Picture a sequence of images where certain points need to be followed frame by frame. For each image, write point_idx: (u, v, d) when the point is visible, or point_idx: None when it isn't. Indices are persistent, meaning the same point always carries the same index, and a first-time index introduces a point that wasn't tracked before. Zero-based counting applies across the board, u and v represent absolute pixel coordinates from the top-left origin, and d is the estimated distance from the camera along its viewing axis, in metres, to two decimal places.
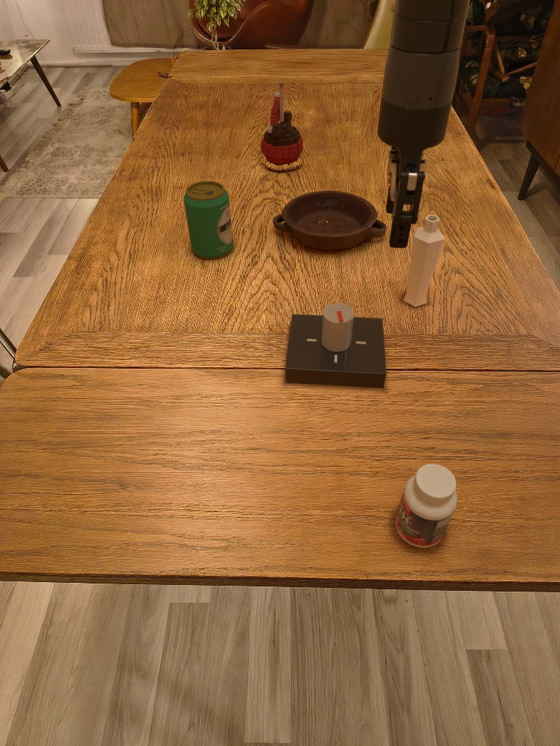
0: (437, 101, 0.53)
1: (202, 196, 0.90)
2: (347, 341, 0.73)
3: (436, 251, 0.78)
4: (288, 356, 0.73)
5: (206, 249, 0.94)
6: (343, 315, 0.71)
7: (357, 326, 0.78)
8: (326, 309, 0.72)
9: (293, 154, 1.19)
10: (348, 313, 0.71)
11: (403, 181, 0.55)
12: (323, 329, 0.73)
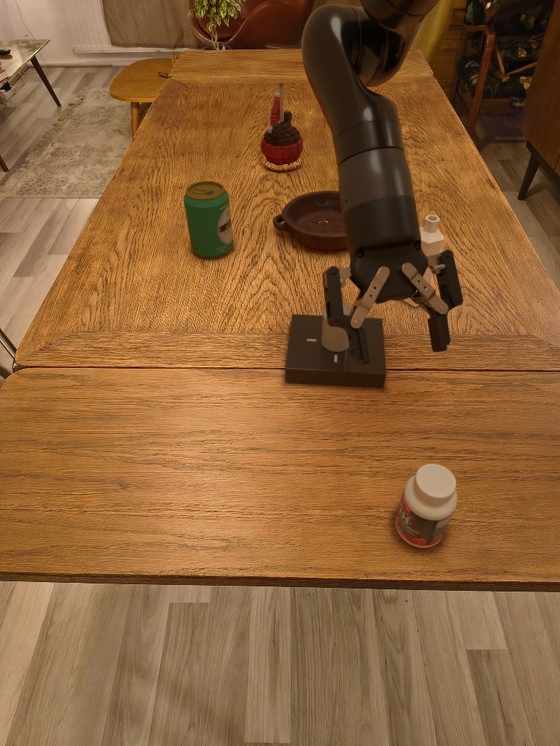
0: (351, 201, 0.52)
1: (202, 196, 0.90)
2: (347, 341, 0.73)
3: (436, 251, 0.78)
4: (288, 356, 0.73)
5: (206, 249, 0.94)
6: None
7: None
8: None
9: (293, 154, 1.19)
10: (348, 313, 0.71)
11: (323, 278, 0.54)
12: (323, 329, 0.73)
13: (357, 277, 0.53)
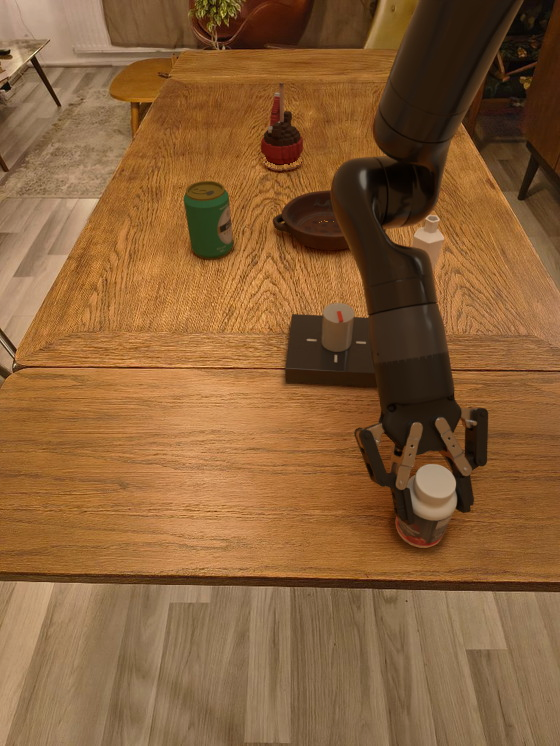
0: (384, 356, 0.50)
1: (202, 196, 0.90)
2: (347, 341, 0.73)
3: (436, 251, 0.78)
4: (288, 356, 0.73)
5: (206, 249, 0.94)
6: (343, 315, 0.71)
7: (357, 326, 0.78)
8: (326, 309, 0.72)
9: (293, 154, 1.19)
10: (348, 313, 0.71)
11: (356, 438, 0.52)
12: (323, 329, 0.73)
13: (389, 431, 0.51)
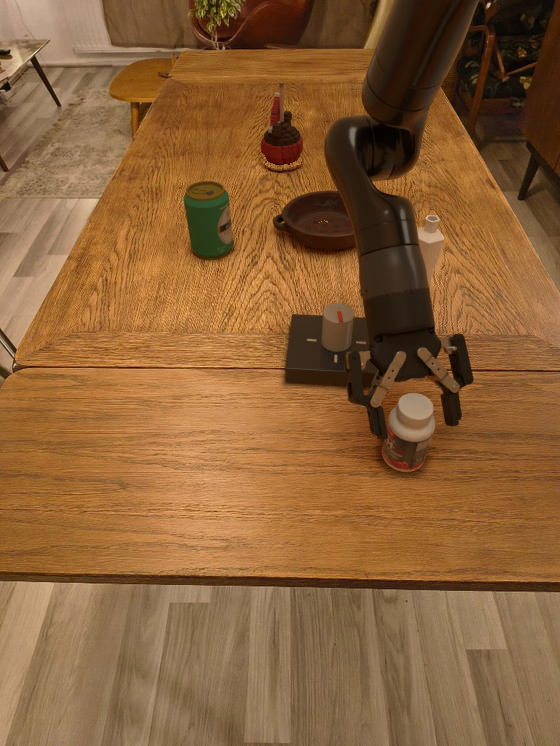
0: (371, 292, 0.56)
1: (202, 196, 0.90)
2: (347, 341, 0.73)
3: (436, 251, 0.78)
4: (288, 356, 0.73)
5: (206, 249, 0.94)
6: (343, 315, 0.71)
7: (357, 326, 0.78)
8: (326, 309, 0.72)
9: (293, 154, 1.19)
10: (348, 313, 0.71)
11: (344, 359, 0.59)
12: (323, 329, 0.73)
13: (376, 360, 0.57)
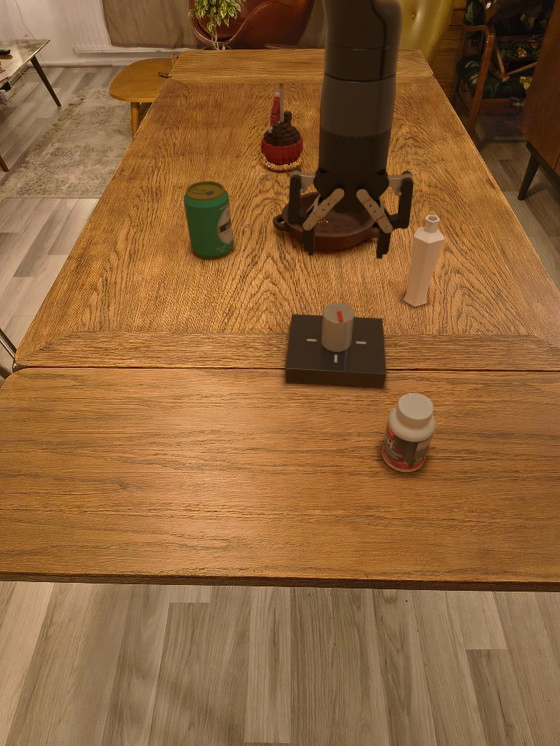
0: (323, 122, 0.52)
1: (202, 196, 0.89)
2: (347, 341, 0.73)
3: (436, 251, 0.78)
4: (288, 356, 0.73)
5: (206, 249, 0.94)
6: (343, 315, 0.71)
7: (357, 326, 0.78)
8: (326, 309, 0.72)
9: (293, 154, 1.19)
10: (348, 313, 0.71)
11: None
12: (323, 329, 0.73)
13: (317, 188, 0.58)
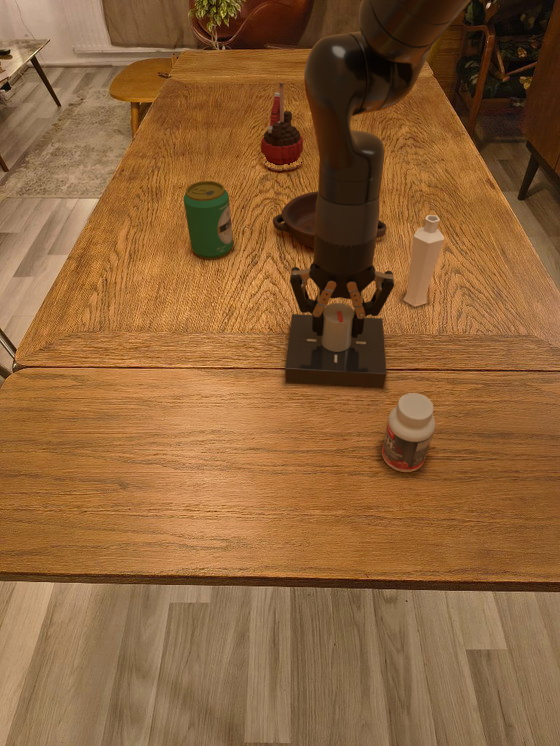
0: (317, 230, 0.61)
1: (202, 196, 0.89)
2: (347, 341, 0.73)
3: (436, 251, 0.78)
4: (288, 356, 0.73)
5: (206, 249, 0.94)
6: (343, 315, 0.71)
7: None
8: (326, 309, 0.72)
9: (293, 154, 1.19)
10: (348, 313, 0.71)
11: None
12: (323, 329, 0.73)
13: (312, 279, 0.67)
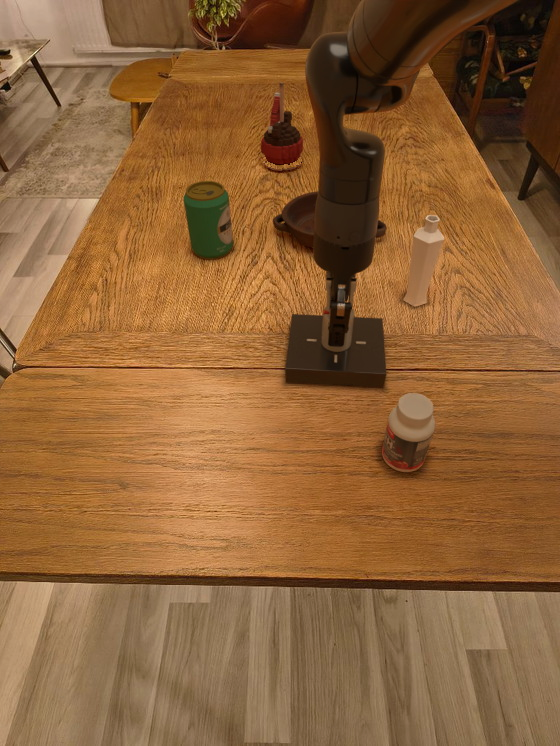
0: None
1: (202, 196, 0.89)
2: (325, 340, 0.73)
3: (436, 251, 0.78)
4: (288, 356, 0.73)
5: (206, 249, 0.94)
6: None
7: (357, 326, 0.78)
8: None
9: (293, 154, 1.19)
10: None
11: None
12: None
13: None
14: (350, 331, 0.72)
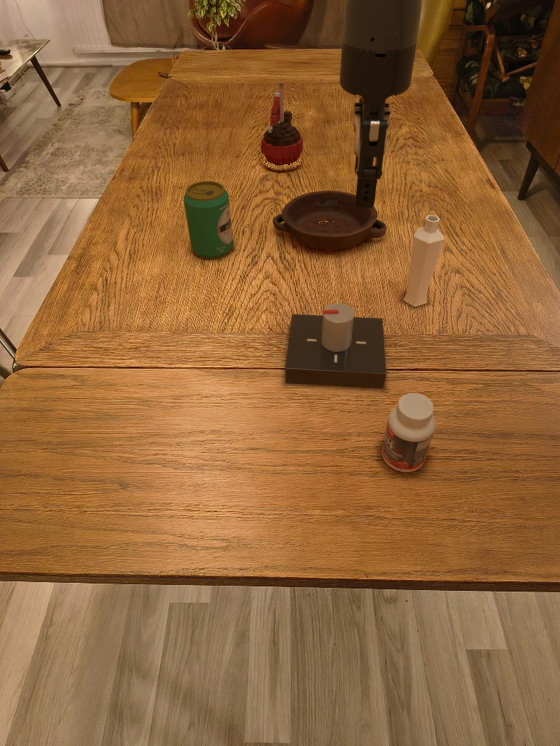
0: None
1: (202, 196, 0.89)
2: (325, 340, 0.73)
3: (436, 251, 0.78)
4: (288, 356, 0.73)
5: (206, 249, 0.94)
6: (333, 315, 0.71)
7: (357, 326, 0.78)
8: (343, 305, 0.72)
9: (293, 154, 1.19)
10: (337, 318, 0.70)
11: None
12: None
13: None
14: (350, 331, 0.72)
